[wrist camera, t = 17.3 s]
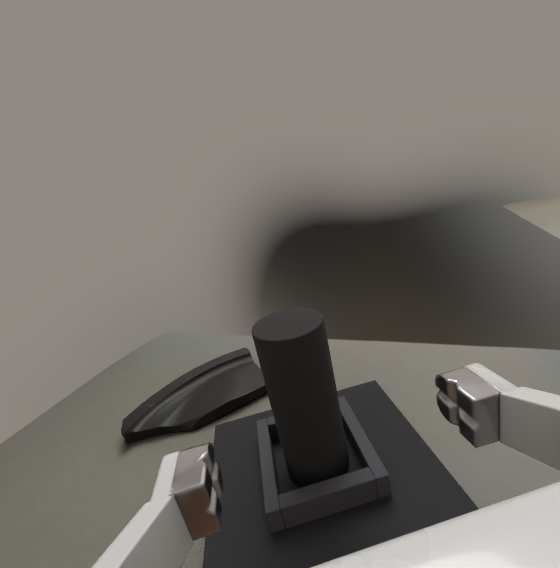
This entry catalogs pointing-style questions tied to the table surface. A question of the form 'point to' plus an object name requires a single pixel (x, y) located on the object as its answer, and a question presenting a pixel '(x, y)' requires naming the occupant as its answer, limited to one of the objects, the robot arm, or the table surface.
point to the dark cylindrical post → (302, 393)
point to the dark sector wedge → (197, 397)
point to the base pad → (327, 489)
